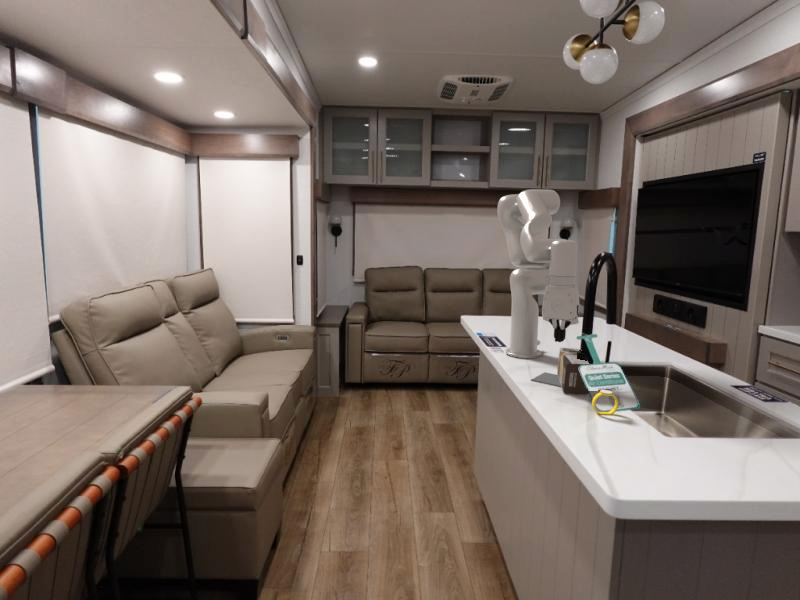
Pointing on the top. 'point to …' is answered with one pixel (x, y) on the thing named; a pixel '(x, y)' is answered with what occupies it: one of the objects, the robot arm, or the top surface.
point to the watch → (606, 393)
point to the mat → (547, 379)
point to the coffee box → (570, 371)
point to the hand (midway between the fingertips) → (559, 341)
